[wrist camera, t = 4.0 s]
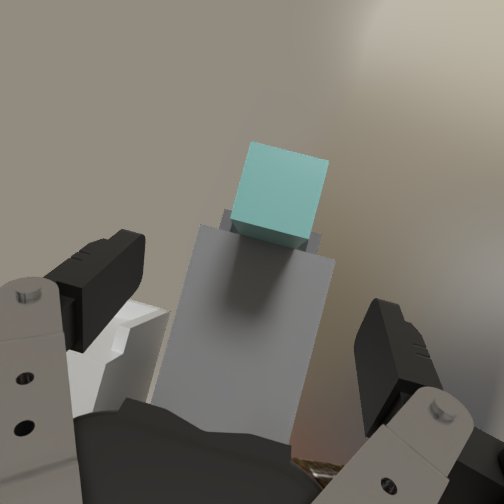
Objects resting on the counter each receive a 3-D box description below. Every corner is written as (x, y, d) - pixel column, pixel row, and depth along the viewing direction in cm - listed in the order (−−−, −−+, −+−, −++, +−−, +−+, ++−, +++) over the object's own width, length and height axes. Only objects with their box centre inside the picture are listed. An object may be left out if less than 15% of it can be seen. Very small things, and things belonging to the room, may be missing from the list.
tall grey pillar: (75, 674, 24) (205, 204, 26) (141, 532, 38) (225, 226, 39) (216, 720, 24) (340, 239, 25) (233, 560, 37) (314, 250, 39)
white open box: (-108, 633, 24) (-9, 300, 25) (35, 493, 39) (93, 289, 40) (17, 675, 24) (114, 335, 24) (113, 517, 38) (170, 310, 39)
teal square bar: (230, 218, 18) (250, 141, 18) (247, 246, 38) (257, 209, 38) (308, 239, 17) (329, 161, 18) (284, 256, 37) (294, 219, 38)
